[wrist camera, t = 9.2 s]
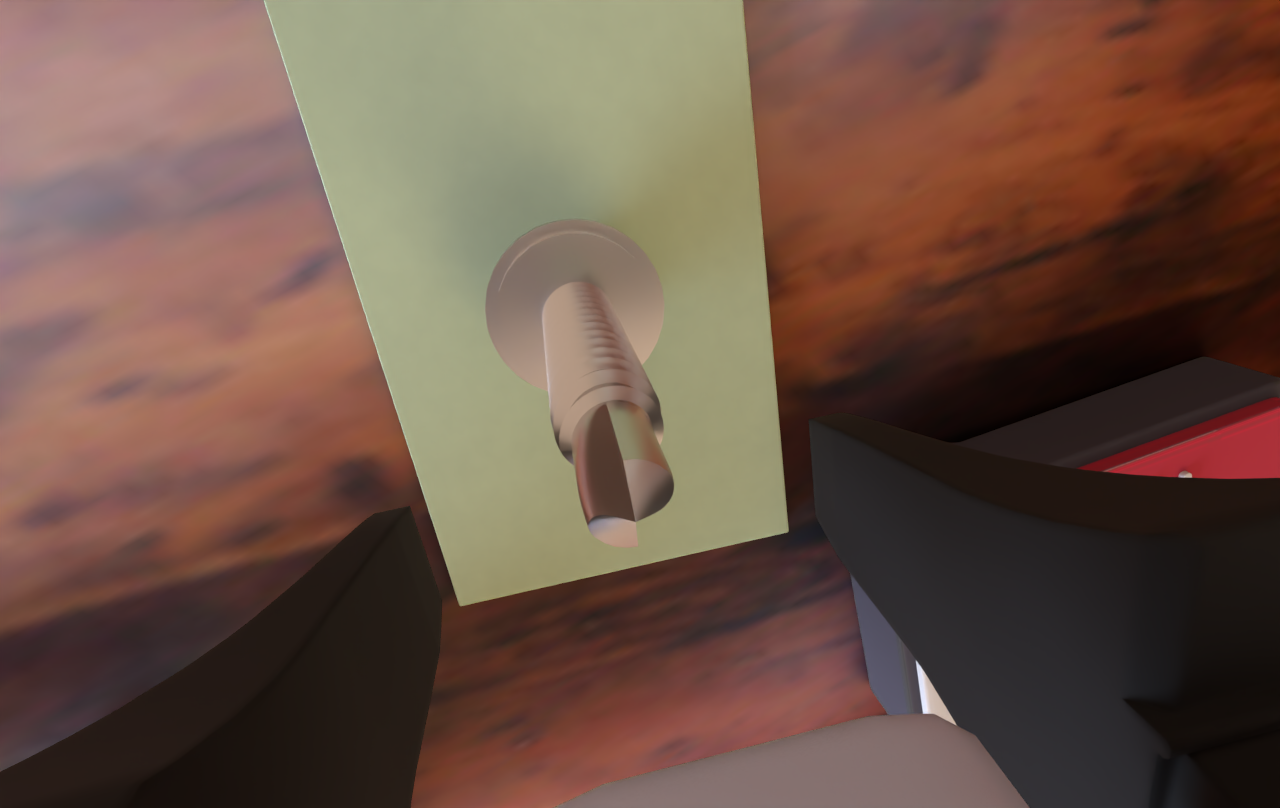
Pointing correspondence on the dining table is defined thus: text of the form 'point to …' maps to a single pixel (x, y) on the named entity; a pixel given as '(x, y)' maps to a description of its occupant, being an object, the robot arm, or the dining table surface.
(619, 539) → the screw
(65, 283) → the dining table surface
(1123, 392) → the calculator
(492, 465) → the mat
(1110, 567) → the robot arm
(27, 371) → the dining table surface
